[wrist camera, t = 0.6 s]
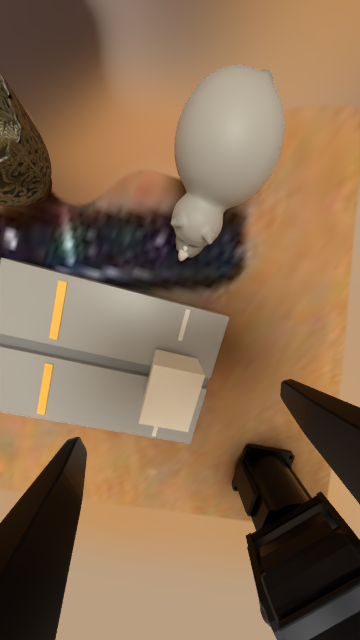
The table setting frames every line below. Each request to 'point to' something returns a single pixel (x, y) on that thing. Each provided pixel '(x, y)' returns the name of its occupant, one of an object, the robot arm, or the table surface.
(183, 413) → the fader cap
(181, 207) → the chubby cartoon animal
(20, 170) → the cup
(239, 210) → the table surface
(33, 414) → the console board
